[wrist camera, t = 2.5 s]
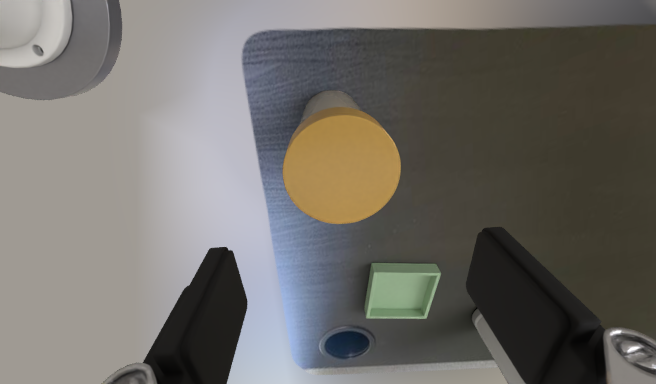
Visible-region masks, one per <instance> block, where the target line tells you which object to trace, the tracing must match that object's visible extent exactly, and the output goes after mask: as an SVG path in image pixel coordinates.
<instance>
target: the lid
mask: <svg viewBox="0 0 656 384" xmlns="http://www.w3.org/2000/svg"><path fill="white" fill-rule="evenodd" d="M400 171H401V164H400V157H399V153H398V150H397V147H396V145H395V143H394V141H393V140H392V139H391V137H390V136H389V135H388V133H387V132H386V131H385V130H384V129H383V127H382V126H381V125H380V124H379V123H378V122H377V121H376V120H375V119H374V118H372V117H371V116H370V115H368V114H366V113H365V112H362V111H360V110H357V109H353V108H348V107H333V108H328V109H324V110H321V111H319V112H317V113H314V114H313V115H311V116H310V117H308V118H307V119H306V120H304V121H303V122H302V123H301V124H300V125H299V126H298V128H297V129H296V130H295V132H294V133H293V135H292V137H291V139H290V142H289V145H288V148H287V152H286V155H285V158H284V163H283V180H284V184H285V188H286V190H287V193H288V195H289V196H290V198H291V200H292V201H293V202H294V204H295V205H296V206H297V207H298V208H299V209H300V210H302V211H303V212H304V213H305V214H307V215H309V216H310V217H312V218H315V219H317V220H320V221H323V222H327V223H334V224H346V223H352V222H356V221H360V220H362V219H365V218H367V217H369V216H371V215H373V214H374V213H376V212H377V211H379V210H380V209H381V208H382V207H383V206H384V205H385V204H386V203H387V202H388V201H389V199H390V198H391V197H392V195H393V193H394V192H395V190H396V187H397V185H398V182H399V178H400Z"/></svg>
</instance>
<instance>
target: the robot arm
mask: <svg viewBox="0 0 656 384" xmlns="http://www.w3.org/2000/svg"><path fill="white" fill-rule="evenodd" d="M71 29H72V10H71V2H70V0H0V66H3V67H10V68H30V67H36V66H42V65H44V64H47V63H49V62H51V61H53V60H54V59H55V58H56V57H58V56H59V55H60V54H61V53H62V51H63V50H64V48H65V47H66V45H67V44H68V40H69V37H70V34H71ZM466 289H467V292H468V294H469V295H470V297H471V298H472V300H473V302H474V303H475V305H476V306H477V308H478V310H479V311H480V313H481V314H482V316H483V318H484V319H485V321H486V322H487V324H488V326H489V327H490V329H491V330H492V332H493V334H494V335H495V337H496V338H497V340H498V342H499V343H500V345H501V346H502V348H503V350H504V351H505V353H506V354H507V356H508V358H509V359H510V361H511V362H512V364H513V366H514V367H515V369H516V370H517V372H518V374H519V375H520V377H521V378H522V380H523V381H524V382H525V383H526V384H656V341H655V340H653V339H652V338H650V337H648V336H646V335H644V334H641V333H639V332H637V331H633V330H630V329H627V328H619V327H614V328H609V329H607V330H605V329H604V328H603V327H602V326H601V325H600V323H601V322H602V321H601V320H600V319H599V318H597V317H596V316H595V315H594V314H593V313H592V312H591V311H590V310H589V309H588V308H587V307H586V306H585V305H584V304H583V303H582V302H581V301H580V300H579V299H577V298H576V297H575V296H574V295H573V294H572V293H571V292H570V291H569V290H568V289H567V288H566V287H565V286H564V285H563V284H562V283H561V282H560V281H558V280H557V279H556V278H555V277H554V276H553V275H552V274H551V273H550V272H549V271H548V270H547V269H546V268H545V267H544V266H543V265H542V264H541V263H540V262H538V261H537V260H536V259H535V258H534V257H533V256H532V255H531V254H530V253H529V252H528V251H527V250H526V249H525V248H524V247H523V246H522V245H521V244H520V243H518V242H517V241H516V240H515V239H514V238H513V237H512V236H511V235H510V234H509V233H508V232H507V231H506V230H505V229H504V228H502V227H491V228H484V229H483V230H482V232H480V233H479V234H478V236H477V240H476V244H475V248H474V252H473V256H472V261H471V265H470V269H469V273H468V277H467V281H466ZM246 310H247V298H246V294H245V291H244V287H243V284H242V281H241V277H240V274H239V270H238V267H237V264H236V260H235V257H234V253H233V251H231V250H230V251H229V250H228V248H227V247H219V248H210V249H209V251H208V253H207V254H206V256H205V258H204V260H203V262H202V263H201V265H200V267H199V269H198V271H197V273H196V274H195V277H194V278H193V280H192V282H191V284H190V285H189V286H187V287H186V288H185V289H184V290H183V292H182V294H181V295H180V297H179V299H178V301H177V303H176V304H175V306H174V308H173V310H172V311H171V313H170V315H169V317H168V319H167V320H166V322H165V324H164V326H163V328H162V329H161V331H160V333H159V335H158V337H157V339H156V340H155V342H154V344H153V346H152V347H151V349H150V351H149V353H148V354H147V356H146V358H145V360H144V362H143V363H134V364H130V365H127V366H125V367H123V368H121V369H119V370H117V371H116V372H115V373H114V374H112V375H111V376H109V377H108V378H107V379H106V380H105V381H104V382H103V383H102V384H227V380H228V376H229V373H230V369H231V365H232V362H233V358H234V354H235V350H236V347H237V343H238V340H239V336H240V332H241V328H242V325H243V321H244V318H245V314H246Z"/></svg>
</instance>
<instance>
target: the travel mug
mask: <svg viewBox="0 0 656 384" xmlns="http://www.w3.org/2000/svg"><path fill="white" fill-rule="evenodd" d="M472 321H473V323H474V325H475V327H476V328H477V330H478V332H479V334H480V336H481V337H482V339H483V341H484V343H485V344H486V346H487V348H488V350H489V351H490V353H491V355H492V356H493V358H494V360H495V362H496V363H497V365H498V367H499V369H500V370H501V372H502V374H503V376H504V377H505V379H506V381H507V383H508V384H526V383H525V382H524V381H523V380H522V378H521V377H520V375H519V374H518V372H517V370H516V369H515V367H514V366H513V364H512V362H511V361H510V359H509V358H508V356H507V354H506V353H505V351H504V350H503V348H502V346H501V345H500V343H499V342H498V340H497V338H496V337H495V335H494V334H493V332H492V330H491V329H490V327H489V326H488V324H487V322H486V321H485V319H484V318H483V316H482V314H481V313H480V311H479V310H478V308H477V309H476V310H475V312H474V313H473V315H472Z"/></svg>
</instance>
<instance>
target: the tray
mask: <svg viewBox="0 0 656 384" xmlns="http://www.w3.org/2000/svg"><path fill="white" fill-rule="evenodd" d="M440 275H441V272H440V271H439V269H438V267H437V265H436V264H414V263H372V264H371V270H370V276H369V282H368V288H367V294H366V301H365V307H364V309H365V315H366V318H410V319H423V318H424V319H426V318H427V315H428V312H429V309H430V306H431V303H432V299H433V296H434V293H435V290H436V287H437V284H438V281H439V278H440Z"/></svg>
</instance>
